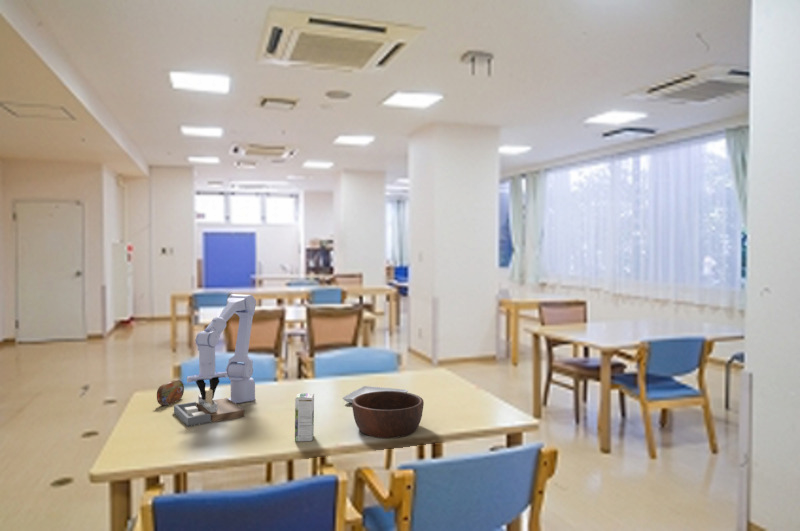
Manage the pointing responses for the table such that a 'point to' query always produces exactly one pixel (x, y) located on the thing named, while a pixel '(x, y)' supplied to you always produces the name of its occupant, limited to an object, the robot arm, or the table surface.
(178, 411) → the box
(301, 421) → the syrup box
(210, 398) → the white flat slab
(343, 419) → the table surface
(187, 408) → the tile
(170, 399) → the tin
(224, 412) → the board
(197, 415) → the tile
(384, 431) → the wooden bowl
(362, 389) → the salad plate
